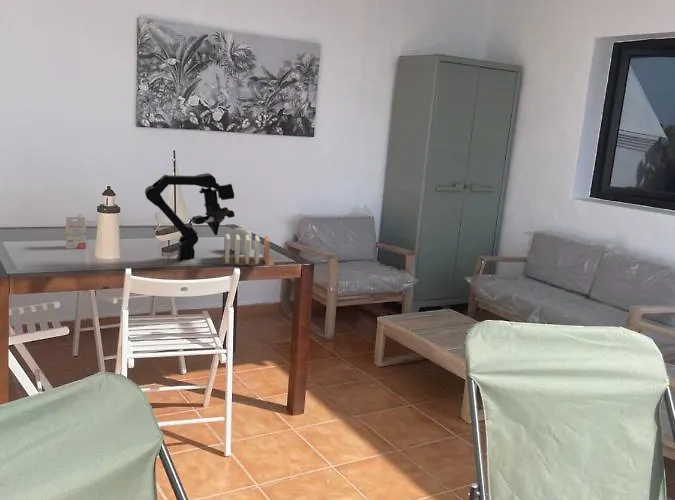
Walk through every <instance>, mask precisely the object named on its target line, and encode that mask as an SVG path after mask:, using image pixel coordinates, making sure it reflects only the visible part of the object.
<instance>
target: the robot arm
mask: <svg viewBox="0 0 675 500" xmlns="http://www.w3.org/2000/svg"><path fill="white" fill-rule="evenodd" d="M172 185H175V186H197V187H201V188H200V189H199V191H198V192H199V194H203V198H204V207H205V212H204V213H205V216H203V215H201V214H200V215H195V216H192V217H191V223H192V224H196V225H202V224H207V225H208V226H209V229H210V230H211V232H212V233H213V234H214V236H217V235H218V233H219V232H218V231H219V228H220V224H221V223H222V222H224V220H225V219H226V217H227V218H228V219H230V218H233V217H234V218H235V216H236V215H235V212H234V211H233V210H231V209H228V207H227V206H226V207H225V206H224V207H221V206H220V203H219V199H220V200H221V201H226V200H233V199H235V192H234V187H233V185H232V183H228V184H223V185H222V184H221V185H220V183H218V182H217V179H216V177H215V176H214V175H213V174H212V173H209V172H207V173H201V174H196V175H171V174H169V175H168V174H163V175H162V176H161V177H160V178H159V179H158V180H157V181H155V182H154V183H152V184H151V185H149V186H147V187H146V188H145V190H144V195H145V197H146V199H147V200H148V201H149V202H150V203H152V204H153V205H154V206H155V207H158V208H159V209H160V210H161V212H162V213H163V214H164V215H165V216H166V217H167V218H168V220H169V221H170V222H171V223H172V224H173V225H174V226H175V228H176V229H177V230H178V231H179V232H180V233H179V234H181V236H182V237H180V238H179V239H178V244H179V245H178V246H177V247H178V248H177V256H176V259H177V260H178V261H179V262H183V261H190V260H193V259H195V253H196V251H195V247H194V246H195V245H196V244H197V243H198V241H199V236H198V232H197V231H196V229H194V228H193V226H192V225H191V224H189V225H187V224H186V223H185V222H183V220H182V219H181V218H180V217H179V216H178V215H177V214H176V213H175V211H174V210H173V209H172V208H171V206H169V205H168V204H167V202H166V201H165V200H164V198H163V196H162V193H163V192H164V190H165V189H167V187H168V186H172ZM212 188H213V189H212Z"/></svg>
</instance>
